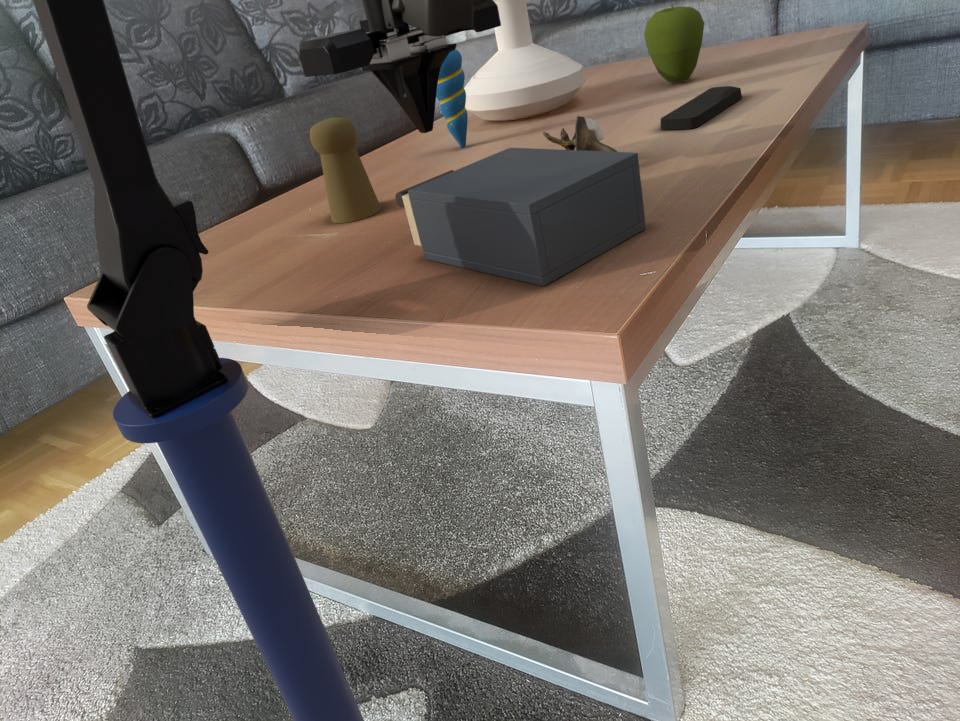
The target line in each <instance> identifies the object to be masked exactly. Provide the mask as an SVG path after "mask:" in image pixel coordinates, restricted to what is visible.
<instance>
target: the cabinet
mask: <svg viewBox="0 0 960 721" xmlns="http://www.w3.org/2000/svg"><path fill="white" fill-rule="evenodd" d="M642 188H643V187H642V180H641V170H640V163H639V154H638V152H627V151H617V152H606V151H581V150H566V149H558V148H557V149H555V148H553V149H552V148H529V147H508V148H505V149H504V150H500V151H498V152H496V153H494V154H491V155H489V156H486V157H484V158H481V159H479V160H477V161H474V162H472V163H470V164H468V165H465V166H463V167H460V168H457V169H455V170H454V171H453V172H450V173H448V174H446V175H443V176H441V177H438V178H436V179H434V180H431V181H429V182H426V183H424V184H422V185H419V186H417V187H414V188H412V189H410V190H408V193H409V197H410V201H411V205H412V209H413V212H414V216H415V220H416V224H417V228H418V232H419V236H420V240H421V243H422V246H421V247H422V251H423V255H424V257H425V260H427V261H433V262H437V263H440V264H446V265H449V266H454V267H459V268H463V269H467V270H470V271H471V270H472V271H475V272H480V273H483V274H484V273H485V274H489V275H494V276H498V277H501V278H506V279H510V280H514V281H519V282H524V283H527V284H532V285H537V286H540V287H545V286H547V285H549V284H551V283H553V282H555V281H557V280H558V279H560V278H561V277H564V276H565V275H567V274H569V273H571V272H572V271H574V270H575V269H577V268H579V267H581V266H583V265H585V264H586V263H588V262H590V261H591V260H594V259H595V258H596V257H598V256H600V255H602V254H604V253H605V252H607V251H609V250H611V249H613V248H614V247H616V246H618V245H620V244H621V243H623V242H625V241H627V240H629V239H630V238H632V237H634V236H636V235H638V234H639V233H641V232H643V231H644V230H646V229H647V228H646V226H647V225H646V216H645V206H644V198H643V189H642Z"/></svg>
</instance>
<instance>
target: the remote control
mask: <svg viewBox="0 0 960 721" xmlns="http://www.w3.org/2000/svg"><path fill="white" fill-rule="evenodd" d="M741 88H742V87H739V86H731V85H725V86H714V87H713V86H712V87H710V88H708V89H706V90H704V91H703V92H702V93H700V94H698V95H697V96H695V97H693V98H692V99H690V100H689V101H687V102H685V103H683V104H682V105H680V106H679V107H677V108H675V109H674V110H672V111H671V112H669V113H667V114H665V115H664V116H662V117H661V118H660V127H659V128H660V130H661V131H669V130H670V131H671V130H689V129H695V128H698V127H700V126H701V125H703V124H704V123H705V122H707V121H709V120H710V119H712V118H713V117H714V116H716V115H717V114H720V113H721V112H722V111H723V110H726V109H727V108H729V107H730V106H731V105H733V104H734V103H736V102H737V101H738V100H740V99H742V98H743V96H742V89H741Z"/></svg>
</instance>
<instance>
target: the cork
mask: <svg viewBox="0 0 960 721" xmlns="http://www.w3.org/2000/svg"><path fill="white" fill-rule="evenodd" d="M357 138H358V137H357V130H356V126H355V125H354V123H353V122H352V120H350V119H349V118H347V117H342V116H339V117H337V116H335V117H330V118H326V119H323V120H321V121H319V122H317V123H315V124H312V126H311V127H310V130H309V139H310V144H311V146H312V147H313V149H314V150H315V151H316V152H317V153H318V154H319V156H320V161H321V167H322V174H323V180H324V185H325V191H326V197H327V202H328V208H329V209H328V210H329V214H330V220H331V222H332V223H333V224H346V223H347V224H348V223H351V222H356V221H360V220H363V219H366V218H370V217H372V216H373V215H376V214H378V212H380V211H381V210H382V206H381V204H380V202H379V199H378V197H377V195H376V191H375V190H374V188H373V185H372V183H371V181H370V179H369V176H368V173H367V171H366V169H365V166H364V163H363V162H362V159H361V157H360V154H359V152H358V149H357V147H356V141H357Z"/></svg>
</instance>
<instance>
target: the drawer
mask: <svg viewBox="0 0 960 721" xmlns="http://www.w3.org/2000/svg"><path fill="white" fill-rule="evenodd" d="M453 171H455V170H453V169H450V170H448V171H446V172H443V173H441V174H438V175H435V176H434V177H431V178H429V179H425V180H424V181H422V182H419V183H417V184H414V185H412V186H410V187H407V188H405V189H403V190H400V191H397V192H396V193H395V196H394V197H395V201H396V203H397V205H398V206H399V207H400V208H404V210H405V214H406V218H407V221H408V225H409V229H410V233H411V237H412V239H413V244H414V245H415V246H419V247H422V243H421V240H420V236H419V232H418V228H417V224H416V220H415V216H414V212H413V209H412V205H411V201H410V197H409V193H408V190H410V189H412V188H414V187H417V186H419V185H422V184H424V183H426V182H429V181H431V180H434V179H436V178H438V177H441V176H443V175H446V174H448V173H450V172H453Z"/></svg>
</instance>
